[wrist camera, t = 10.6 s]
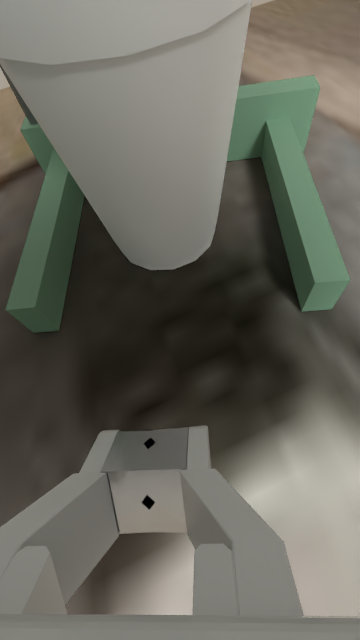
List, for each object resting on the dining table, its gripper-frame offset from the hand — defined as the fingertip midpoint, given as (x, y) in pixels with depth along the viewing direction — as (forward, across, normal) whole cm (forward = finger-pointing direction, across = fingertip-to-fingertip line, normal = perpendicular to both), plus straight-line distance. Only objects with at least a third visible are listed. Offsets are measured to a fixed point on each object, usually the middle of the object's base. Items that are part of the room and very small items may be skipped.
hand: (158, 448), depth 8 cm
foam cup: (+13, 0, -6) cm, 14 cm away
